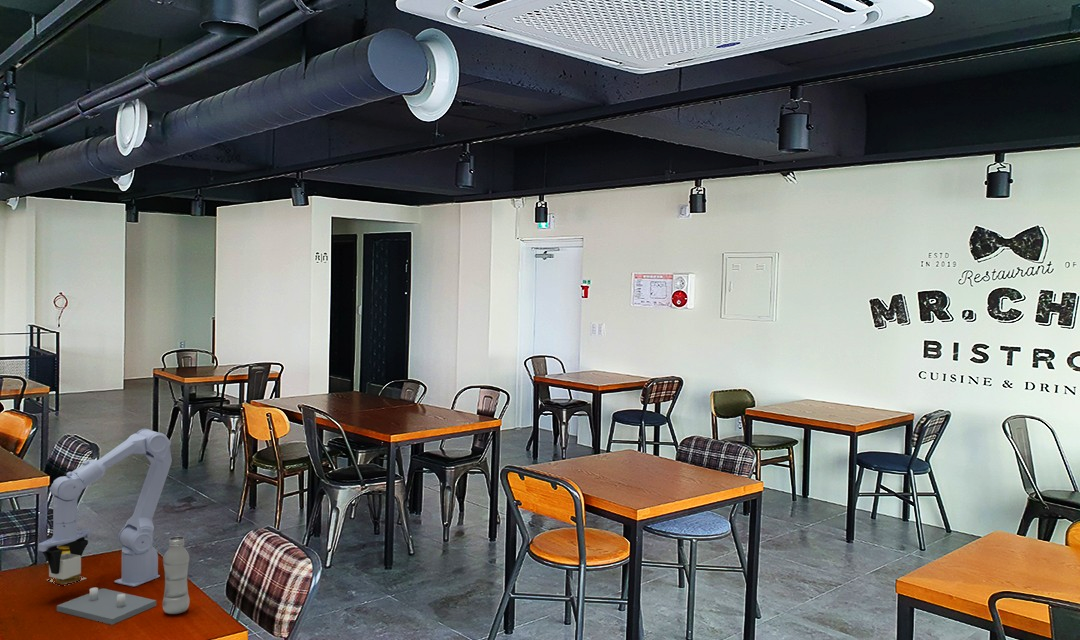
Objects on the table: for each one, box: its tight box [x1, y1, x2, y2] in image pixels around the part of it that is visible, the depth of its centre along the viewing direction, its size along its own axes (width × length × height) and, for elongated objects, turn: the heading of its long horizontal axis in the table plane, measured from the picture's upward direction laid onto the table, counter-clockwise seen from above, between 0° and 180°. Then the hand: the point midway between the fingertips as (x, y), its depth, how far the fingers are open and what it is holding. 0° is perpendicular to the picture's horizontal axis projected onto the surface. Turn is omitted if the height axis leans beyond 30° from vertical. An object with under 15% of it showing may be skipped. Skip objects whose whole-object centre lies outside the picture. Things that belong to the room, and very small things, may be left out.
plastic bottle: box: [161, 536, 191, 615], centre depth 219 cm, size 6×7×20 cm
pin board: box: [56, 587, 157, 626], centre depth 220 cm, size 14×20×4 cm
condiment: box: [46, 543, 87, 584], centre depth 240 cm, size 7×8×12 cm
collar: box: [48, 553, 82, 580], centre depth 226 cm, size 5×5×5 cm
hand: (65, 569), depth 226 cm, fingers closed on collar, 5 cm apart
